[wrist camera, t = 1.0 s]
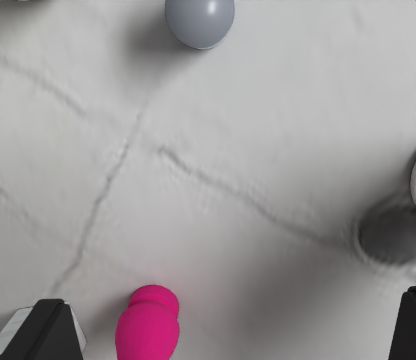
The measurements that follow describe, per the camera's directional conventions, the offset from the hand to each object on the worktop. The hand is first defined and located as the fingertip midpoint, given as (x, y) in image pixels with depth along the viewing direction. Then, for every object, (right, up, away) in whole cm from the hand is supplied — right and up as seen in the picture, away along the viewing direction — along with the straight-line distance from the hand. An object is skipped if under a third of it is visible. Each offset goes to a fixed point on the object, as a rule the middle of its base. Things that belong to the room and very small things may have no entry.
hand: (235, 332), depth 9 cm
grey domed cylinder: (-1, +19, +21) cm, 28 cm away
